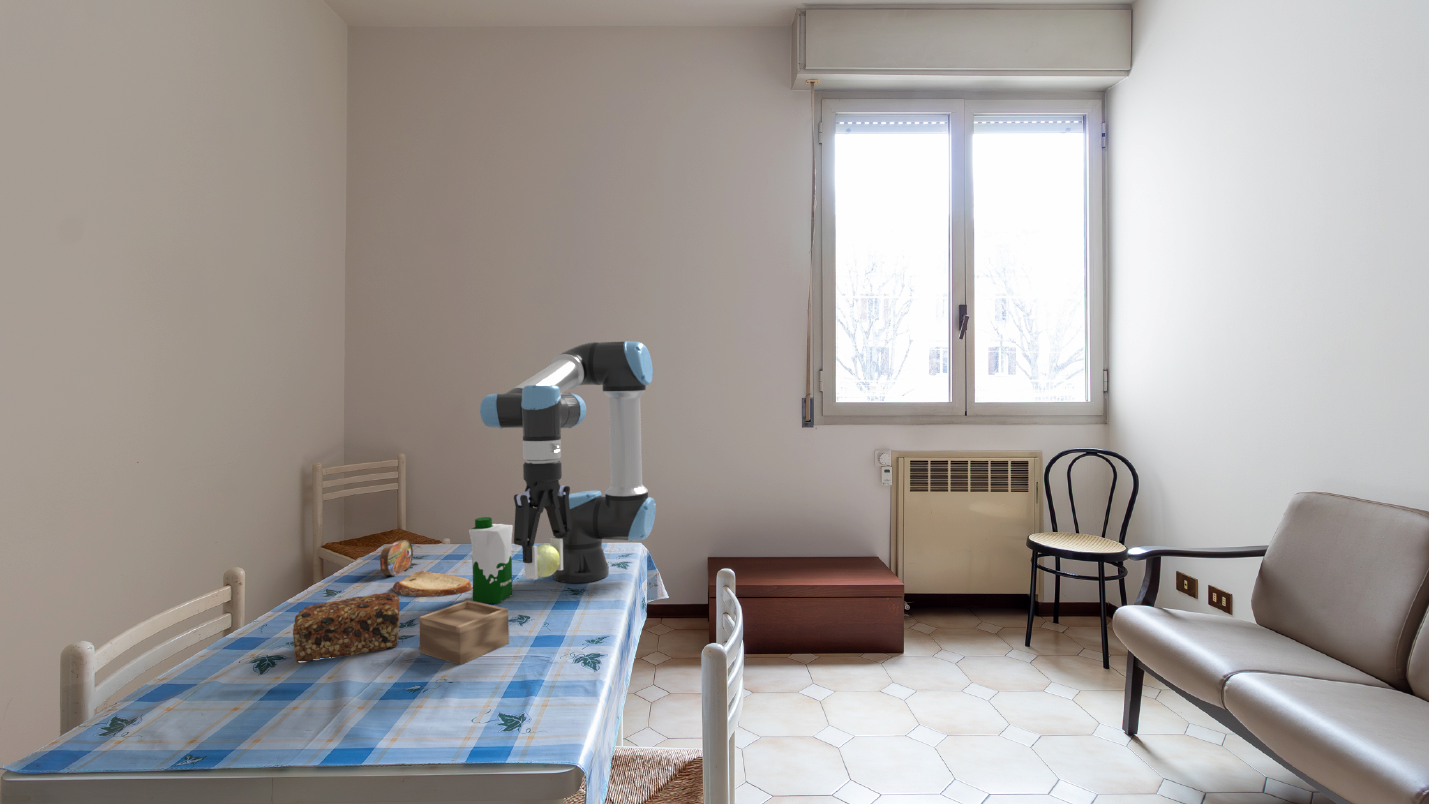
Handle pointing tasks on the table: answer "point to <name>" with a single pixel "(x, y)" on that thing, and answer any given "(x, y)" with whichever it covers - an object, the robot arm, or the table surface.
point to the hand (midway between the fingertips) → (544, 573)
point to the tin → (396, 558)
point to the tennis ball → (547, 560)
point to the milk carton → (491, 561)
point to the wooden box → (463, 631)
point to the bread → (347, 627)
